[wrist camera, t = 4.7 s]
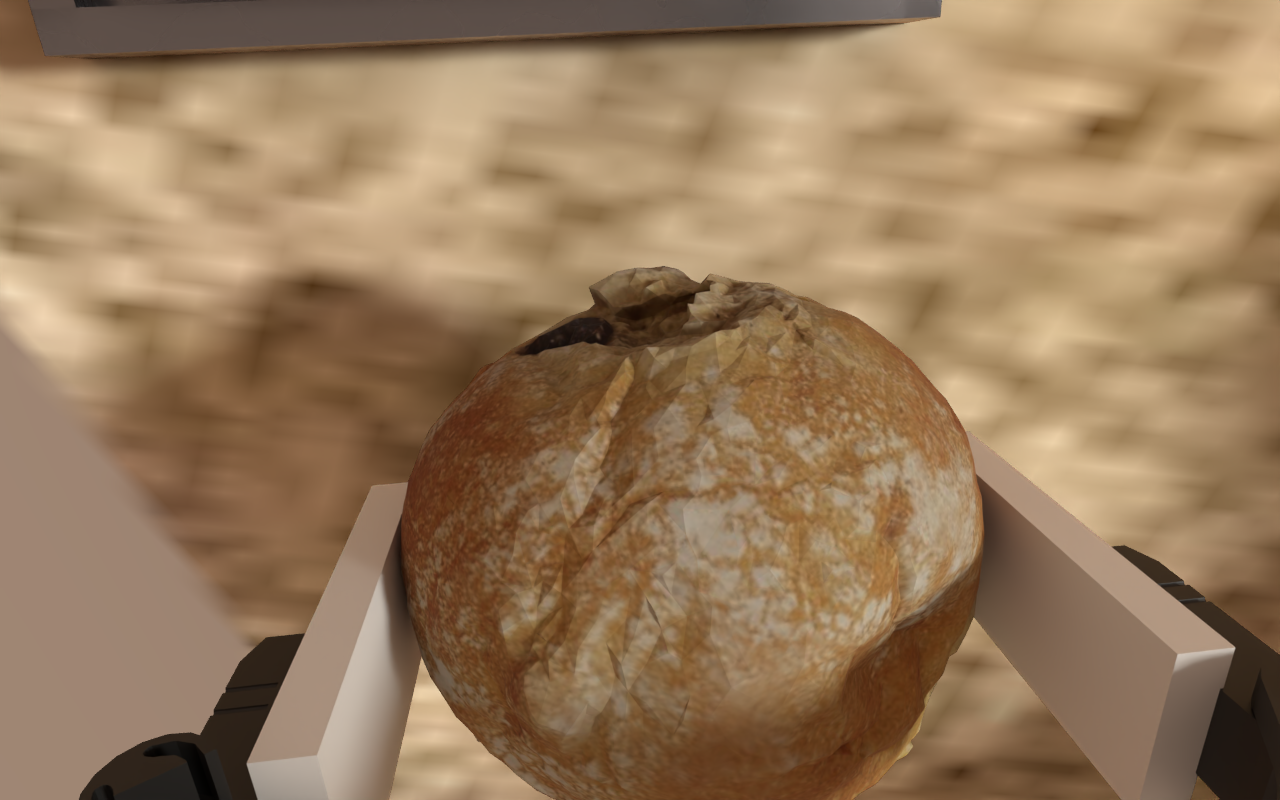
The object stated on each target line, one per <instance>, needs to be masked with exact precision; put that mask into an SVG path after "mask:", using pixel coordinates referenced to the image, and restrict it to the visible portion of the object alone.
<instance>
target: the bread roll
mask: <svg viewBox="0 0 1280 800" xmlns="http://www.w3.org/2000/svg"><path fill="white" fill-rule="evenodd" d="M589 289H590V292H591V294H592V297H593V299H594V302H595V305H593V306H592V307H591V308H590V309H589V310H587V311H584V312H581V313H578V314H575V315H573V316H570V317H567V318H565V319H564V320H562V321H561V322H559V323H557V324H556V325H554V326H552V327H551V328H549V329H548V330H546V331H544V332H543V333H541V334H539V335H537V336H536V337H534V338H532V339H530V340H528V341H527V342H525V343H523V344H521V345H519V346H518V347H514V348H513V349H512V350H510V351H509V352H508V353H506V354H505V355H504V356H503V357H501V358H500V359H499V360H497V361H496V362H494V363H491V364H488V365H485V366H484V367H482V368H481V369H480V370H479V371H478V373H477V374H476V376H475V377H474V378H473V380H472V381H471V382H470V384H469V385H468V387H467V388H466V389H465V390H464V391H463V392H462V393H461V394H459V395H458V396H457V397H456V398H455V400H454V401H453V402H452V403H451V404H450V405H449V406H448V408H447V409H446V410H445V411H444V412H443V414H442V415H441V417H440V418H439V419H438V420H437V421H436V423H435V424H434V425H433V426H432V427H431V429H430V431H429V432H428V434H427V437H426V439H425V441H424V443H423V445H422V447H421V449H420V452H419V455H418V457H417V460H416V463H415V466H414V468H413V471H412V474H411V476H410V478H409V480H408V485H407V491H406V497H405V500H404V505H403V513H402V521H401V571H402V576H403V581H404V586H405V590H406V595H407V609H408V612H409V615H410V618H411V621H412V625H413V628H414V632H415V635H416V639H417V642H418V646H419V649H420V653H421V656H422V658H423V661H424V663H425V665H426V668H427V670H428V672H429V675H430V677H431V679H432V680H433V682H434V683H435V685H436V686H437V688H438V689H439V691H440V692H441V694H442V695H443V697H444V698H445V700H446V701H447V703H448V705H449V706H450V708H451V710H452V711H453V713H454V714H455V716H456V717H457V718H458V719H459V720H460V721H461V722H462V723H463V724H464V725H465V726H466V727H467V728H468V729H469V730H470V731H471V732H472V733H473V734H474V736H475V737H476V739H477V741H479V742H481V743H482V744H483V745H484V746H485V748H486V749H487V750H488V751H489V753H491V754H492V755H494V756H495V757H496V758H498V759H499V760H501V761H502V762H504V763H505V764H506V765H507V766H508V767H509V768H510V769H511V770H512V771H513V772H514V773H515V774H516V775H517V776H519V777H520V778H522V779H523V780H524V781H526V782H527V783H528V784H529V785H531V786H532V787H533V788H534V789H536V790H537V791H539V792H541V793H543V794H545V795H547V796H549V797H551V798H553V799H556V800H853V799H854V798H855V797H856V796H857V795H858V794H860V793H862V792H863V791H865V790H867V789H868V788H870V787H872V786H873V785H875V784H876V783H877V782H878V781H879V780H880V779H881V778H882V777H883V775H884V774H885V773H886V772H887V771H888V770H889V769H890V768H891V767H892V765H893V764H894V762H896V761H897V760H899V759H901V758H903V757H904V756H906V755H907V754H908V753H909V751H910V750H911V749H912V747H913V745H912V743H911V740H912V739H913V738H914V737H915V735H916V734H917V733H918V732H919V731H920V726H921V722H922V717H923V714H924V711H925V708H926V706H927V703H928V700H929V698H930V696H931V693H932V691H933V689H934V687H935V685H936V683H937V681H938V680H939V679H940V677H941V676H942V675H943V673H944V670H945V667H946V664H947V661H948V658H949V656H951V655H952V654H954V653H956V652H957V650H958V648H959V647H960V645H961V643H962V641H963V639H964V637H965V635H966V633H967V631H968V629H969V627H970V624H971V622H972V620H973V617H974V615H975V608H976V599H977V592H978V588H979V583H980V572H981V564H982V558H983V548H984V537H985V533H984V523H983V512H982V496H981V493H980V489H979V486H978V483H977V478H976V471H975V465H974V459H973V455H972V451H971V447H970V444H969V440H968V436H967V434H966V432H965V430H964V428H963V426H962V425H961V423H960V421H959V419H958V418H957V416H956V414H955V413H954V411H953V410H952V408H951V406H950V405H949V403H948V402H947V400H946V399H945V397H944V396H943V395H942V394H941V393H940V392H939V391H938V390H937V389H936V388H935V387H934V386H933V384H932V383H931V382H930V381H929V380H928V379H927V377H926V376H925V375H924V374H923V373H922V372H921V370H920V369H919V368H918V367H917V366H916V364H915V363H914V362H913V361H912V360H911V359H910V358H908V357H907V356H906V355H905V354H904V353H903V352H902V351H901V350H900V349H898V348H897V347H896V346H895V345H893V344H892V343H891V342H890V341H888V340H887V339H886V338H885V337H883V336H882V335H881V334H879V333H878V332H877V331H875V330H874V329H873V328H871V327H870V326H868V325H867V324H865V323H864V322H863V321H861V320H860V319H858V318H857V317H854V316H852V315H850V314H848V313H846V312H842V311H838V310H835V309H831V308H828V307H826V306H824V305H822V304H820V303H818V302H816V301H814V300H812V299H810V298H808V297H802V296H796V295H794V294H792V293H791V292H789V291H787V290H784V289H782V288H780V287H777V286H775V285H773V284H769V283H753V282H742V281H736V280H732V279H729V278H725V277H721V276H717V275H713V274H709V275H708V276H707V277H706V278H705V280H704V281H703V282H702V283H701V284H700V283H697V282H695V281H692V280H691V279H690V278H689V277H687V276H686V275H685V274H684V273H683V272H681V271H680V270H678V269H675V268H670V267H665V266H662V267H655V268H634V269H628V270H623V271H618V272H616V273H614V274H612V275H610V276H608V277H607V278H605V279H603V280H601V281H599V282H597V283H596V284H594V285H592V286H590V287H589Z"/></svg>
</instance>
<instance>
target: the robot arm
mask: <svg viewBox="0 0 1280 800" xmlns="http://www.w3.org/2000/svg"><path fill="white" fill-rule="evenodd" d="M966 434H967V436H968V440H969V444H970V447H971V451H972V455H973V459H974V465H975V471H976V478H977V483H978V486H979V489H980V493H981V496H982V512H983V523H984V533H985V537H984V548H983V558H982V564H981V572H980V583H979V588H978V592H977V599H976V608H975V615H974V618H975V619H976V620H977V622H978V623H979V624H980V625H981V626H982V628H983V629H984V630H985V631H986V633H987V634H988V635H989V636H990V638H991V639H992V640H993V641H994V643H995V644H996V645H997V646H998V648H999V649H1000V650H1001V651H1002V653H1003V654H1004V655H1005V656H1006V657H1007V659H1008V660H1009V661H1010V662H1011V664H1012V665H1013V666H1014V667H1015V669H1016V670H1017V671H1018V672H1019V674H1020V675H1021V676H1022V677H1023V679H1024V680H1025V681H1026V682H1027V684H1028V685H1029V686H1030V687H1031V688H1032V690H1033V691H1034V692H1035V693H1036V695H1037V696H1038V697H1039V698H1040V700H1041V701H1042V702H1043V703H1044V705H1045V706H1046V707H1047V708H1048V710H1049V711H1050V712H1051V713H1052V715H1053V716H1054V717H1055V718H1056V719H1057V721H1058V722H1059V723H1060V724H1061V726H1062V727H1063V728H1064V729H1065V731H1066V732H1067V733H1068V734H1069V736H1070V737H1071V738H1072V739H1073V741H1074V742H1075V743H1076V744H1077V746H1078V747H1079V748H1080V749H1081V750H1082V752H1083V753H1084V754H1085V755H1086V757H1087V758H1088V759H1089V760H1090V762H1091V763H1092V764H1093V765H1094V767H1095V768H1096V769H1097V770H1098V772H1099V773H1100V774H1101V775H1102V777H1103V778H1104V779H1105V780H1106V781H1107V783H1108V784H1109V785H1110V786H1111V788H1112V789H1113V790H1114V791H1115V793H1116V794H1117V795H1118V796H1119V798H1120V799H1121V800H1191V797H1192V793H1193V790H1194V787H1195V783H1196V780H1197V776H1199V777H1200V778H1201V779H1202V780H1203V781H1204V782H1205V783H1206V784H1207V786H1208V787H1209V788H1210V789H1211V790H1212V791H1213V792H1214V793H1215V794H1216V795H1217V796H1218V797H1219V798H1220V799H1219V800H1280V655H1279V654H1278V653H1276V652H1275V651H1274V650H1272V649H1271V648H1270V647H1269V646H1267V645H1266V644H1265V643H1263V642H1262V641H1261V640H1259V639H1258V638H1257V637H1256V636H1254V635H1253V634H1252V633H1250V632H1249V631H1248V630H1247V629H1245V628H1244V627H1243V626H1241V625H1240V624H1239V623H1237V622H1236V621H1235V620H1234V619H1232V618H1231V617H1230V616H1228V615H1227V614H1226V613H1225V612H1223V611H1222V610H1221V609H1219V608H1218V607H1217V606H1215V605H1214V604H1213V603H1212V602H1206V601H1205V597H1204V596H1202V595H1201V594H1200V593H1199V592H1197V591H1196V590H1195V589H1193V588H1192V587H1191V586H1190V585H1184V581H1183V580H1182V579H1180V578H1179V577H1178V576H1177V575H1175V574H1174V573H1173V572H1171V571H1170V570H1169V569H1168V568H1166V567H1165V566H1164V565H1162V564H1161V563H1160V562H1158V561H1156V560H1154V559H1152V558H1150V557H1148V556H1146V555H1144V554H1142V553H1139V552H1137V551H1135V550H1133V549H1131V548H1129V547H1127V546H1125V545H1124V546H1114V547H1111V546H1110V545H1109V544H1107V543H1106V542H1105V541H1104V540H1102V539H1101V538H1100V537H1099V536H1097V535H1096V534H1095V533H1094V532H1092V531H1091V530H1090V529H1089V528H1088V527H1086V526H1085V525H1084V524H1083V523H1081V522H1080V521H1079V520H1078V519H1076V518H1075V517H1074V516H1073V515H1072V514H1070V513H1069V512H1068V511H1067V510H1065V509H1064V508H1063V507H1062V506H1060V505H1059V504H1058V503H1057V502H1055V501H1054V500H1053V499H1052V498H1051V497H1049V496H1048V495H1047V494H1046V493H1044V492H1043V491H1042V490H1041V489H1039V488H1038V487H1037V486H1036V485H1034V484H1033V483H1032V482H1031V481H1030V480H1028V479H1027V478H1026V477H1025V476H1023V475H1022V474H1021V473H1020V472H1018V471H1017V470H1016V469H1015V468H1014V467H1012V466H1011V465H1010V464H1009V463H1007V462H1006V461H1005V460H1004V459H1002V458H1001V457H1000V456H999V455H997V454H996V453H995V452H994V451H993V450H991V449H990V448H989V447H988V446H986V445H985V444H984V443H983V442H981V441H980V440H979V439H978V438H977V437H975V436H974V435H973V434H972V433H970V432H966ZM407 485H408V482H404V483H393V484H382V485H372V487H371V489H370V491H369V493H368V496H367V498H366V500H365V502H364V504H363V507H362V509H361V511H360V513H359V515H358V518H357V520H356V522H355V524H354V527H353V529H352V531H351V533H350V535H349V538H348V540H347V542H346V544H345V546H344V549H343V551H342V553H341V555H340V558H339V560H338V562H337V564H336V566H335V569H334V571H333V573H332V575H331V577H330V580H329V582H328V584H327V586H326V589H325V591H324V593H323V595H322V597H321V600H320V602H319V604H318V606H317V608H316V611H315V613H314V615H313V617H312V620H311V622H310V624H309V626H308V628H307V631H306V633H304V634H294V635H285V636H276V637H266V638H265V639H264V640H263V641H262V642H261V643H260V644H259V645H258V646H256V647H255V648H254V649H253V650H252V651H251V652H250V653H249V654H248V655H247V656H246V657H245V658H243V659H242V660H241V661H240V663H239V664H238V666H237V668H236V670H235V672H234V674H233V675H232V677H231V679H230V681H229V683H228V685H227V687H226V692H225V693H223V694H222V696H221V698H220V699H219V701H218V703H217V705H216V707H215V709H214V715H213V716H210V718H209V720H208V721H207V723H206V725H205V727H204V729H203V731H202V732H201V735H197V734H194V733H179V734H167V735H164V736H161V737H158V738H154V739H151V740H148V741H145V742H142V743H140V744H138V745H137V746H135V747H133V748H131V749H129V750H127V751H126V752H124V753H122V754H120V755H118V756H117V757H115V758H114V759H113V760H112V761H111V762H109V763H108V764H107V765H106V766H104V767H103V768H102V769H101V770H100V771H99V772H97V773H96V774H95V775H94V776H93V778H92V779H91V781H90V782H89V783H88V785H87V786H86V787H85V789H84V790H83V791H82V793H81V794H80V798H79V800H389V797H390V793H391V788H392V784H393V780H394V775H395V771H396V766H397V762H398V758H399V753H400V749H401V744H402V740H403V736H404V731H405V727H406V722H407V718H408V714H409V709H410V705H411V700H412V696H413V692H414V687H415V683H416V678H417V674H418V670H419V665H420V661H421V653H420V649H419V646H418V642H417V639H416V635H415V632H414V628H413V625H412V621H411V618H410V615H409V612H408V609H407V595H406V590H405V586H404V581H403V576H402V571H401V521H402V513H403V505H404V500H405V497H406V491H407Z"/></svg>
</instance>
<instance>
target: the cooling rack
mask: <svg viewBox="0 0 1280 800" xmlns="http://www.w3.org/2000/svg"><path fill="white" fill-rule="evenodd" d="M28 2H29V5H30V8H31V12H32V15H33V18H34V22H35V25H36V28H37V31H38V35H39V38H40V41H41V44H42V48H43V51H44V54H45V56H54V57H69V58H83V59H99V58H121V57H144V56H167V55H189V54H212V53H235V52H257V51H280V50H303V49H325V48H348V47H371V46H393V45H416V44H439V43H461V42H484V41H506V40H529V39H552V38H574V37H597V36H620V35H642V34H665V33H688V32H710V31H733V30H756V29H778V28H801V27H824V26H846V25H869V24H892V23H909V22H915V21H920V20H926V19H931V18H937V17H940V14H941V3H942V0H28Z"/></svg>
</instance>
